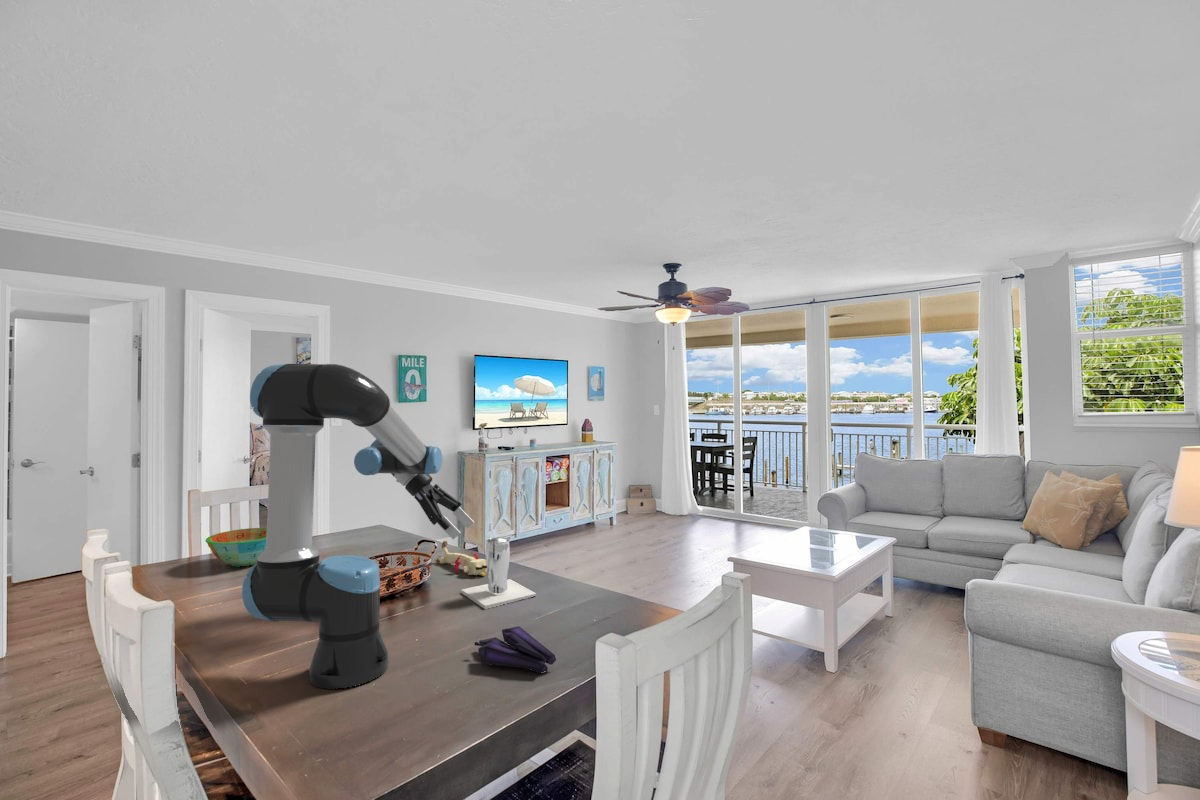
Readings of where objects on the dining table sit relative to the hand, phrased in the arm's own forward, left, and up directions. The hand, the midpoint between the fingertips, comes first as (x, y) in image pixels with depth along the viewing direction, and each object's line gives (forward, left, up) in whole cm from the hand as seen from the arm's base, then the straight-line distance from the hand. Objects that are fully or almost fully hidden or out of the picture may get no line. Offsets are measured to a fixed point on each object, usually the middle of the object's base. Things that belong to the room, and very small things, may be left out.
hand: (464, 530), depth 165 cm
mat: (-6, -8, -19) cm, 21 cm away
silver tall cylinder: (-7, -7, -18) cm, 20 cm away
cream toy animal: (+23, -10, -19) cm, 31 cm away
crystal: (-46, +9, -19) cm, 50 cm away
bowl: (+73, +48, -19) cm, 89 cm away
